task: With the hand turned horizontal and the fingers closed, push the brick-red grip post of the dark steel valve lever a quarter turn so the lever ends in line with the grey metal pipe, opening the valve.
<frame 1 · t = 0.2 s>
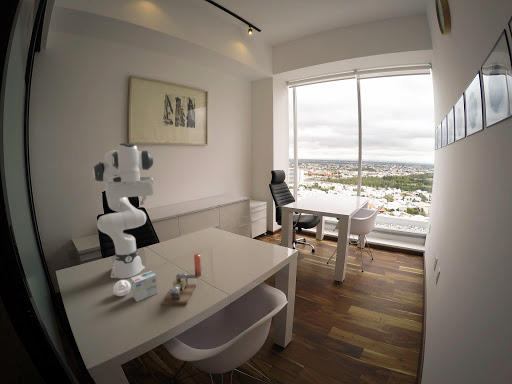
hand: (131, 205, 112), 48 cm above the table, tool pointing down, fingers open, 8 cm apart
valve lever: (188, 267, 117), point 16 cm above the table, hinge at 0.0°
light bulb box: (145, 295, 120), on the table
mounting board: (180, 295, 119), on the table
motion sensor: (122, 295, 120), on the table
valve pipe: (179, 286, 118), on the mounting board, point 5 cm above the table
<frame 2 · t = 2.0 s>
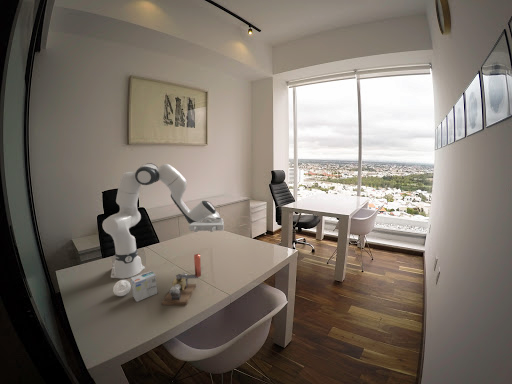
hand: (203, 230, 127), 30 cm above the table, tool horizontal, fingers open, 8 cm apart
nothing on the table moved.
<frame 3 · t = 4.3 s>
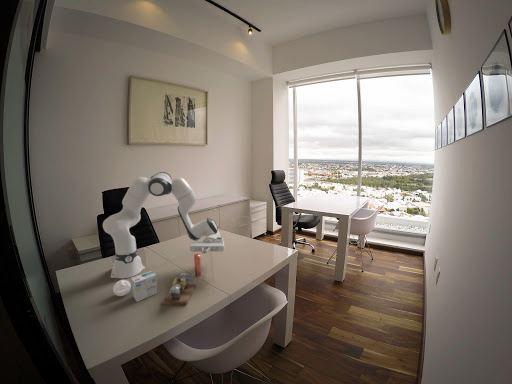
hand: (204, 252, 129), 18 cm above the table, tool horizontal, fingers closed
nothing on the table moved.
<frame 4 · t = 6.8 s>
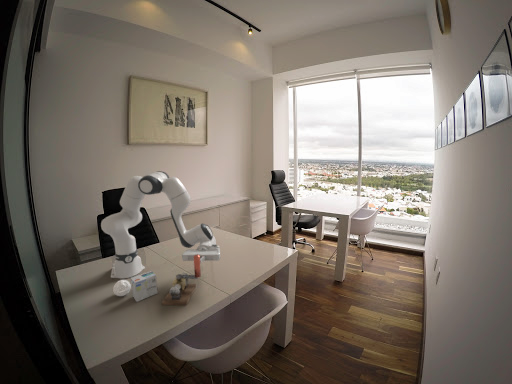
hand: (198, 261, 117), 18 cm above the table, tool horizontal, fingers closed, pressing on valve lever
valve lever: (187, 267, 116), point 16 cm above the table, hinge at 3.7°, touching gripper
everything else where it was.
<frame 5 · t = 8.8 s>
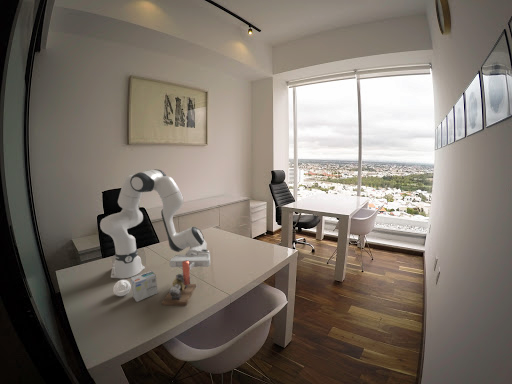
hand: (186, 268, 110), 18 cm above the table, tool horizontal, fingers closed
valve lever: (182, 270, 113), point 16 cm above the table, hinge at 48.2°, touching gripper
everything else where it was.
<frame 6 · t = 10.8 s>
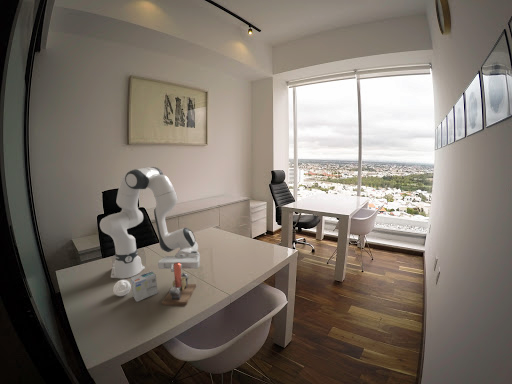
hand: (173, 270, 108), 18 cm above the table, tool horizontal, fingers closed
valve lever: (178, 271, 112), point 16 cm above the table, hinge at 70.6°
everything else where it was.
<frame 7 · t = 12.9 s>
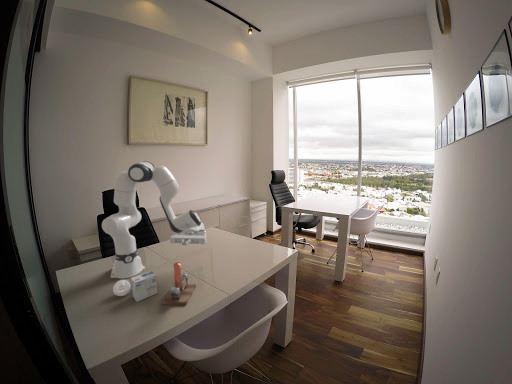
hand: (184, 244, 124), 24 cm above the table, tool horizontal, fingers closed
nothing on the table moved.
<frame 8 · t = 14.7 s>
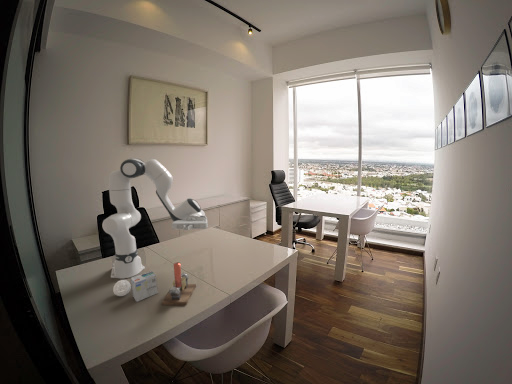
hand: (185, 228, 126), 32 cm above the table, tool horizontal, fingers closed
nothing on the table moved.
at the end: valve lever at +71° (first picture: +0°); light bulb box moved 0.3 cm from its start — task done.
